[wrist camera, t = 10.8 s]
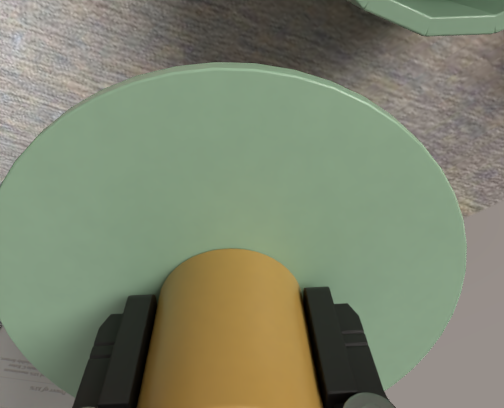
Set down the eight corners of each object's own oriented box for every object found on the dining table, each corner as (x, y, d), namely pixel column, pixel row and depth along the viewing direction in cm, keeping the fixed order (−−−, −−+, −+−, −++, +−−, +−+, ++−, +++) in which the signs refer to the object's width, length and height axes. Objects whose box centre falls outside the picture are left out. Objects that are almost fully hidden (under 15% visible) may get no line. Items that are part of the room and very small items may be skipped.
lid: (66, 419, 18) (-1, 616, 13) (-79, 66, 11) (-380, 194, 5) (411, 401, 19) (482, 587, 13) (504, 44, 11) (755, 146, 6)
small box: (47, 299, 34) (-43, 476, 23) (53, 233, 31) (-48, 402, 20) (152, 318, 35) (116, 493, 24) (168, 257, 32) (135, 426, 21)
